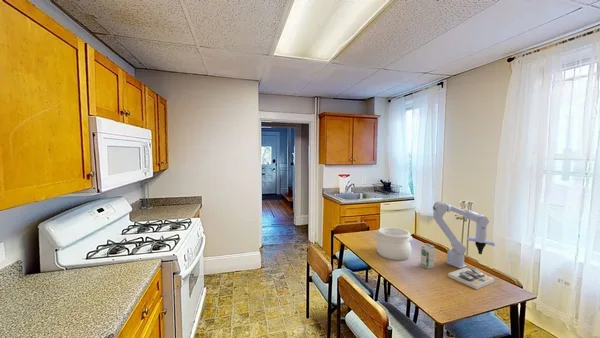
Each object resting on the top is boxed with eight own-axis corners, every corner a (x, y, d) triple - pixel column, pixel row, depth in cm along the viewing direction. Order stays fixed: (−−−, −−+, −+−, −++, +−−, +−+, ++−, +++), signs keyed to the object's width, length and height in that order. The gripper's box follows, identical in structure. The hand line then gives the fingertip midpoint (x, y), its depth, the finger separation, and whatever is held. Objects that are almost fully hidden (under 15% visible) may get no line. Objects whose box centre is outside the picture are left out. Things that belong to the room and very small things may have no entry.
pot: (406, 249, 196) (406, 227, 195) (417, 262, 172) (418, 237, 171) (372, 247, 199) (372, 226, 198) (378, 260, 174) (379, 236, 173)
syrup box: (420, 265, 168) (420, 243, 167) (426, 263, 170) (427, 242, 169) (427, 268, 162) (428, 246, 162) (433, 267, 165) (434, 245, 164)
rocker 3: (470, 269, 153) (470, 268, 153) (473, 268, 155) (474, 267, 154) (480, 276, 148) (480, 275, 148) (483, 275, 150) (484, 274, 149)
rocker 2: (464, 273, 150) (464, 271, 150) (468, 271, 152) (468, 270, 152) (475, 277, 145) (475, 275, 145) (479, 275, 147) (479, 274, 147)
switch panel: (448, 276, 152) (448, 273, 152) (465, 270, 160) (465, 267, 160) (476, 289, 138) (476, 285, 138) (494, 281, 146) (494, 278, 146)
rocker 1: (459, 273, 148) (459, 272, 148) (463, 272, 150) (463, 271, 149) (469, 280, 143) (469, 279, 143) (473, 278, 145) (473, 277, 144)
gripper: (466, 232, 166) (465, 252, 166) (493, 237, 155) (492, 258, 156) (469, 229, 170) (468, 249, 171) (496, 234, 160) (495, 255, 161)
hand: (480, 253), depth 164 cm, fingers closed
